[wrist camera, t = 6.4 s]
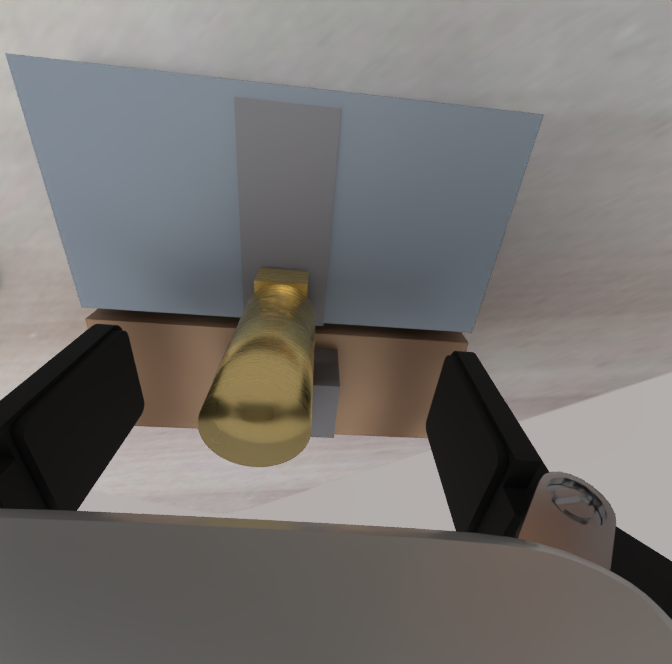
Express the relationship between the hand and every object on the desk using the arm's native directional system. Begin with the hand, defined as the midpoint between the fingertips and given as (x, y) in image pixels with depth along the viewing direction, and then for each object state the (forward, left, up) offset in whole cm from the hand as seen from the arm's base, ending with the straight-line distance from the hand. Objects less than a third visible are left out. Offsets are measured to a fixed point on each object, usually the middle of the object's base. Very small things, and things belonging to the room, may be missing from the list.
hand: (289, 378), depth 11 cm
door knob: (+1, +2, -5) cm, 6 cm away
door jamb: (+1, +5, -10) cm, 11 cm away
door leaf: (+1, -3, -10) cm, 10 cm away
